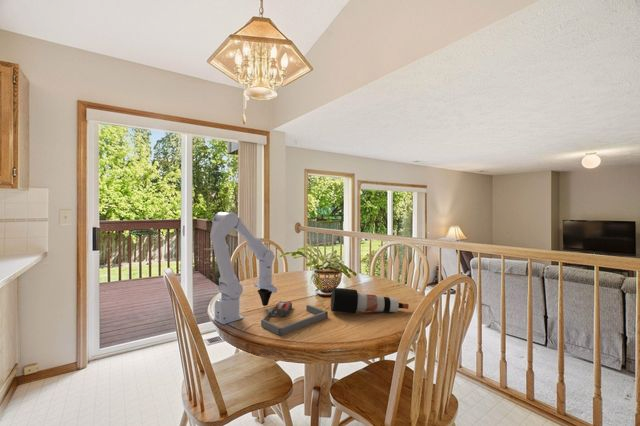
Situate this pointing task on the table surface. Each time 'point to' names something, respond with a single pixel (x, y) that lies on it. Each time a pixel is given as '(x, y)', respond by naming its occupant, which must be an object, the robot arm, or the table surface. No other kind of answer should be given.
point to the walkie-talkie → (280, 309)
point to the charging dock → (297, 325)
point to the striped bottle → (362, 302)
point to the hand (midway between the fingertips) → (265, 305)
